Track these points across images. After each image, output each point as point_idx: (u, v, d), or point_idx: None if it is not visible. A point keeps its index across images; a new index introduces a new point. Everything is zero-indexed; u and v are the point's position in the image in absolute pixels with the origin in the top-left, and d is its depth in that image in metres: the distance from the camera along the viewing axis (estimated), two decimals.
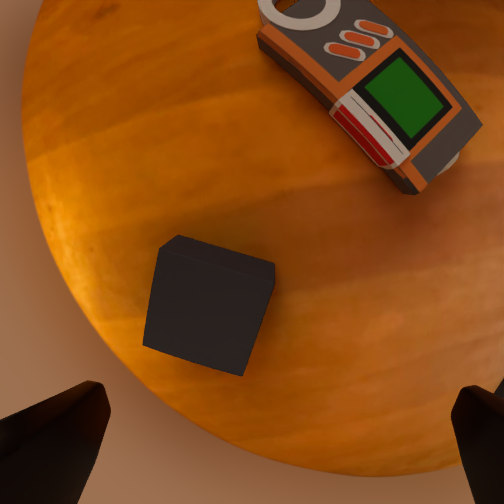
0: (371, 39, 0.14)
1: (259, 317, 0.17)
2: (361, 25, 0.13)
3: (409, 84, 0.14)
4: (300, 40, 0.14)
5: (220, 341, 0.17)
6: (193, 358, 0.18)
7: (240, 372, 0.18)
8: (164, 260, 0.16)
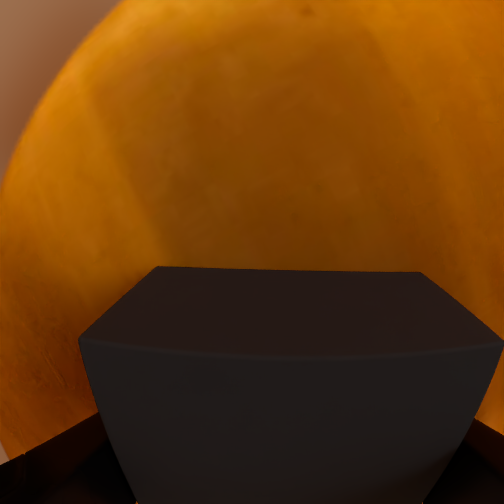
0: None
1: None
2: None
3: None
4: None
5: None
6: (137, 479, 0.05)
7: None
8: (472, 371, 0.04)
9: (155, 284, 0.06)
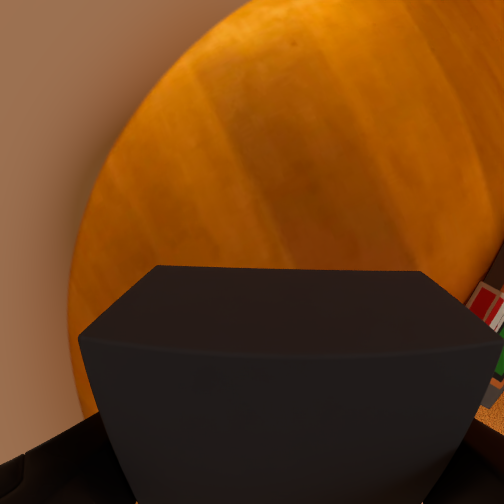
0: None
1: None
2: None
3: None
4: None
5: None
6: (138, 478, 0.05)
7: None
8: (472, 369, 0.04)
9: (155, 283, 0.06)
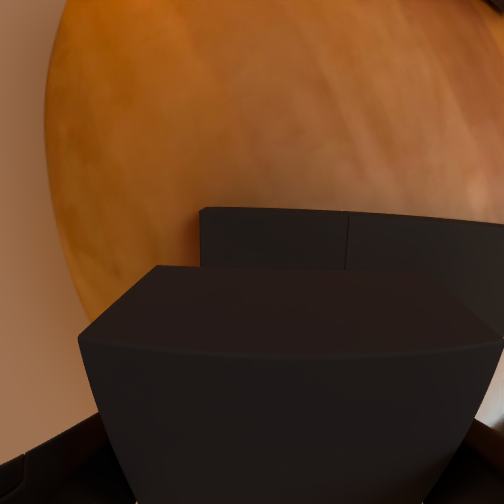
0: None
1: None
2: None
3: None
4: None
5: None
6: (138, 478, 0.05)
7: None
8: (472, 369, 0.04)
9: (155, 283, 0.06)
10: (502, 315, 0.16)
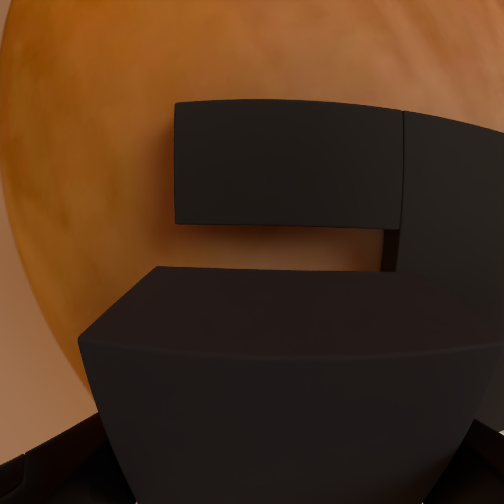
0: None
1: None
2: None
3: None
4: None
5: None
6: (137, 479, 0.05)
7: None
8: (472, 371, 0.04)
9: (155, 284, 0.06)
10: None
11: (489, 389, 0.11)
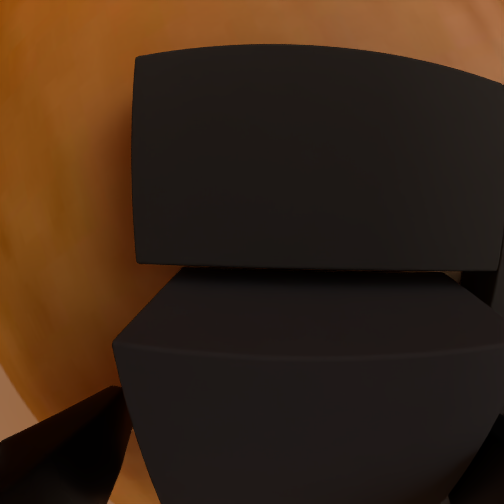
0: None
1: None
2: None
3: None
4: None
5: None
6: (166, 484, 0.05)
7: None
8: (500, 368, 0.03)
9: (185, 285, 0.06)
10: None
11: None
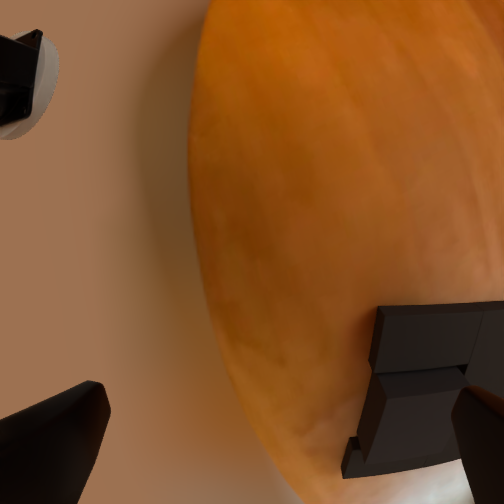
0: None
1: (418, 455, 0.17)
2: None
3: None
4: None
5: (399, 445, 0.16)
6: (379, 436, 0.16)
7: (369, 462, 0.17)
8: None
9: (384, 376, 0.18)
10: None
11: None
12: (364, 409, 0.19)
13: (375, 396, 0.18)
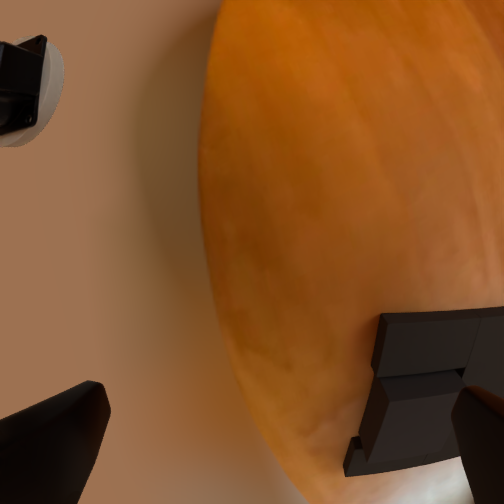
0: None
1: (418, 454, 0.17)
2: None
3: None
4: None
5: (399, 444, 0.17)
6: (381, 436, 0.17)
7: (371, 461, 0.18)
8: None
9: (385, 380, 0.18)
10: None
11: None
12: (366, 410, 0.20)
13: (377, 399, 0.18)
